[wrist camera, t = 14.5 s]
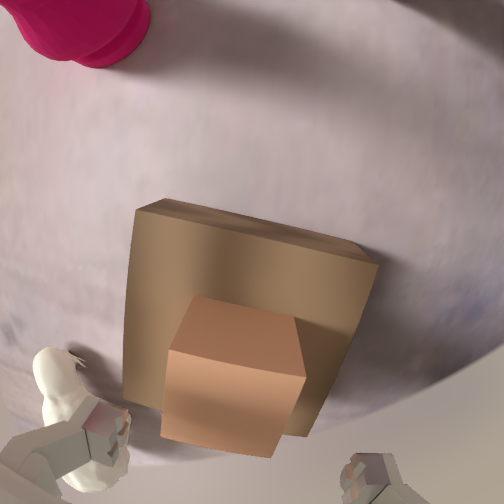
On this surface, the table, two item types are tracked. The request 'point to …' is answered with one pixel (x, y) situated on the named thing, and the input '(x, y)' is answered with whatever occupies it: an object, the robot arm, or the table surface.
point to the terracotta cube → (232, 378)
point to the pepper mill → (81, 28)
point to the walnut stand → (239, 292)
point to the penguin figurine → (62, 408)
